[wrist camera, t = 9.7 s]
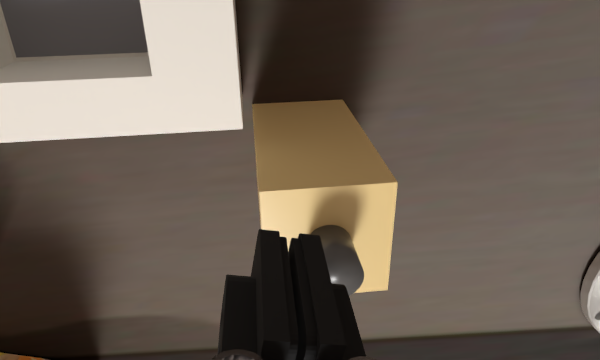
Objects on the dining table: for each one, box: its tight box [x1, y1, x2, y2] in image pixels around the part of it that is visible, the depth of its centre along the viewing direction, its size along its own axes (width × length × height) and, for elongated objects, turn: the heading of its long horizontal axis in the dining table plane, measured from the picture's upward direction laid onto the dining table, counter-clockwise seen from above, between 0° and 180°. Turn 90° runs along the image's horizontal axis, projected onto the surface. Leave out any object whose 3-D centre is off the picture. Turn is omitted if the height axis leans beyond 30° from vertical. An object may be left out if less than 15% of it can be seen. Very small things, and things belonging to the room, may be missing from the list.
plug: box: [252, 100, 398, 295], centre depth 21 cm, size 5×5×12 cm
